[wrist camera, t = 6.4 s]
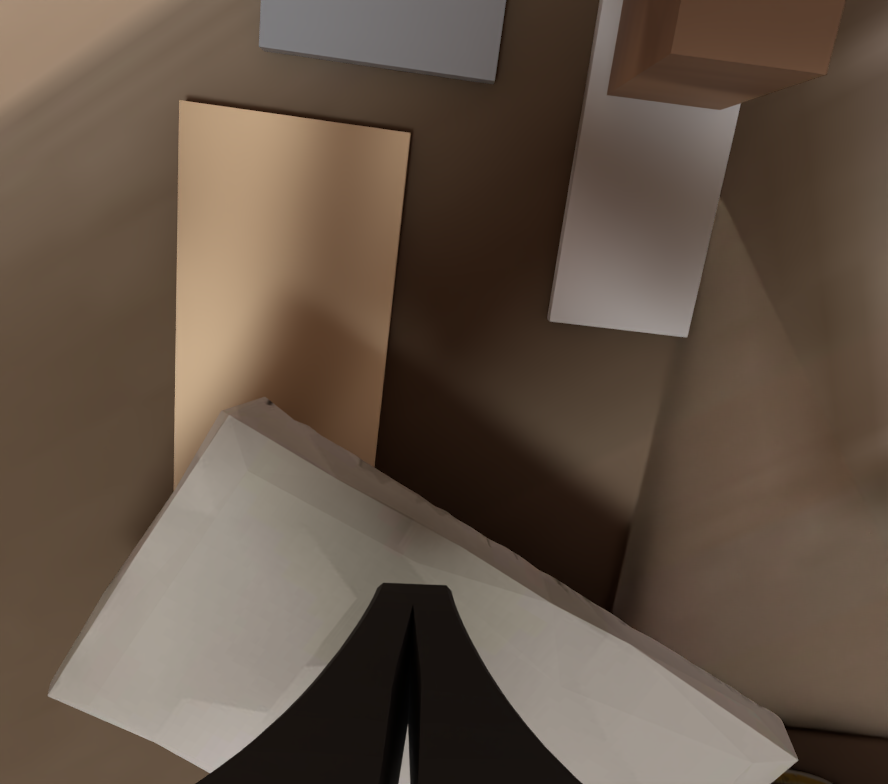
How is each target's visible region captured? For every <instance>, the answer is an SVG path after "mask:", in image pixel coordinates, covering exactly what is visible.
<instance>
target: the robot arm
mask: <svg viewBox="0 0 888 784" xmlns="http://www.w3.org/2000/svg"><path fill="white" fill-rule="evenodd" d="M407 727H408V738H409V765H410V784H583V783H581V782H580V781H579V780H578V779H577V778H576V777H575V776H574V775H573V774H572V773H571V772H570V771H569V770H568V769H567V768H566V767H565V766H564V765H563V764H562V763H561V762H560V761H559V760H558V759H557V758H556V757H555V756H554V755H553V754H552V753H551V752H550V751H549V750H548V749H547V748H546V747H545V746H544V744H543V743H542V742H541V741H540V740H539V739H538V737H537V736H536V735H535V734H534V733H533V732H532V730H531V729H530V728H529V727H528V726H527V725H526V723H525V722H524V721H523V719H522V718H521V717H520V716H519V714H518V713H517V712H516V710H515V709H514V708H513V706H512V705H511V704H510V702H509V701H508V700H507V698H506V697H505V695H504V694H503V692H502V691H501V689H500V688H499V686H498V685H497V683H496V682H495V680H494V679H493V677H492V676H491V674H490V672H489V671H488V669H487V667H486V666H485V664H484V662H483V661H482V659H481V657H480V655H479V653H478V652H477V650H476V648H475V646H474V644H473V642H472V640H471V639H470V637H469V635H468V633H467V631H466V628H465V626H464V624H463V622H462V620H461V617H460V615H459V612H458V610H457V607H456V605H455V602H454V598H453V595H452V591H451V590H450V589H449V588H448V586H447V585H429V584H405V583H382V584H381V585H380V586H379V587H377V590H376V592H375V594H374V596H373V598H372V600H371V602H370V604H369V606H368V607H367V609H366V611H365V612H364V614H363V616H362V617H361V619H360V620H359V622H358V624H357V625H356V627H355V628H354V629H353V631H352V632H351V634H350V635H349V637H348V638H347V640H346V641H345V642H344V644H343V645H342V647H341V648H340V649H339V651H338V652H337V653H336V655H335V656H334V657H333V658H332V659H331V661H330V662H329V663H328V664H327V666H326V667H325V668H324V669H323V671H322V672H321V673H320V674H319V676H318V677H317V678H316V679H315V680H314V681H313V683H312V684H311V685H310V686H309V687H308V688H307V689H306V690H305V691H304V692H303V694H302V695H301V696H300V697H299V698H298V699H297V700H296V701H295V702H294V703H293V704H292V705H291V706H290V707H289V708H288V709H287V710H286V711H285V712H284V713H283V714H282V715H281V716H280V717H279V718H278V719H276V720H275V721H274V722H273V723H272V724H271V725H270V726H269V727H268V728H266V729H265V730H264V731H263V732H262V733H261V734H260V735H259V736H258V737H257V738H255V739H254V740H253V741H252V742H251V743H249V744H248V745H247V746H246V747H245V748H243V749H242V750H241V751H240V752H238V753H237V754H236V755H234V756H233V757H232V758H230V759H229V760H228V761H226V762H225V763H224V764H222V765H221V766H220V767H218V768H217V769H215V770H214V771H213V772H211V773H210V774H209V775H207V776H206V777H205V778H203V779H202V780H200V781H199V782H197V783H196V784H399V778H400V771H401V765H402V759H403V752H404V746H405V740H406V733H407Z"/></svg>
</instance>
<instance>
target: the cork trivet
mask: <svg viewBox="0 0 888 784" xmlns="http://www.w3.org/2000/svg"><path fill="white" fill-rule="evenodd" d="M410 139H411V133H408V132H401V131H394V130H387V129H379V128H372V127H365V126H358V125H351V124H344V123H337V122H330V121H323V120H316V119H309V118H302V117H295V116H288V115H281V114H274V113H267V112H260V111H253V110H245V109H238V108H231V107H224V106H217V105H210V104H203V103H196V102H189V101H182V100H179V156H178V225H177V294H176V363H175V433H174V490H175V489H176V487H177V485H178V484H179V482H180V480H181V478H182V477H183V475H184V473H185V472H186V470H187V468H188V467H189V465H190V463H191V461H192V460H193V458H194V456H195V455H196V453H197V451H198V450H199V448H200V446H201V444H202V443H203V441H204V439H205V438H206V436H207V434H208V432H209V431H210V429H211V427H212V426H213V424H214V422H215V421H216V419H217V417H218V415H219V414H220V412H221V411H222V410H225V409H228V408H231V407H234V406H237V405H240V404H244V403H247V402H250V401H253V400H256V399H259V398H262V397H266V398H268V399H269V400H270V401H271V402H273V403H274V404H275V405H276V406H277V407H279V408H280V409H281V410H282V411H284V412H285V413H286V414H287V415H289V416H290V417H291V418H292V419H294V420H295V421H298V422H300V423H303V424H306V425H308V426H310V427H311V428H312V429H314V430H315V431H316V432H317V433H319V434H320V435H321V436H323V437H325V438H326V439H328V440H330V441H332V442H333V443H335V444H337V445H339V446H340V447H342V448H344V449H346V450H347V451H349V452H351V453H353V454H354V455H356V456H357V457H359V458H360V459H362V460H363V461H365V462H366V463H368V464H370V465H371V466H373V467H374V468H375V458H376V449H377V440H378V431H379V422H380V413H381V404H382V394H383V385H384V376H385V367H386V358H387V349H388V340H389V331H390V321H391V312H392V303H393V294H394V285H395V276H396V267H397V257H398V248H399V239H400V230H401V221H402V212H403V203H404V193H405V184H406V175H407V166H408V157H409V148H410Z"/></svg>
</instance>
